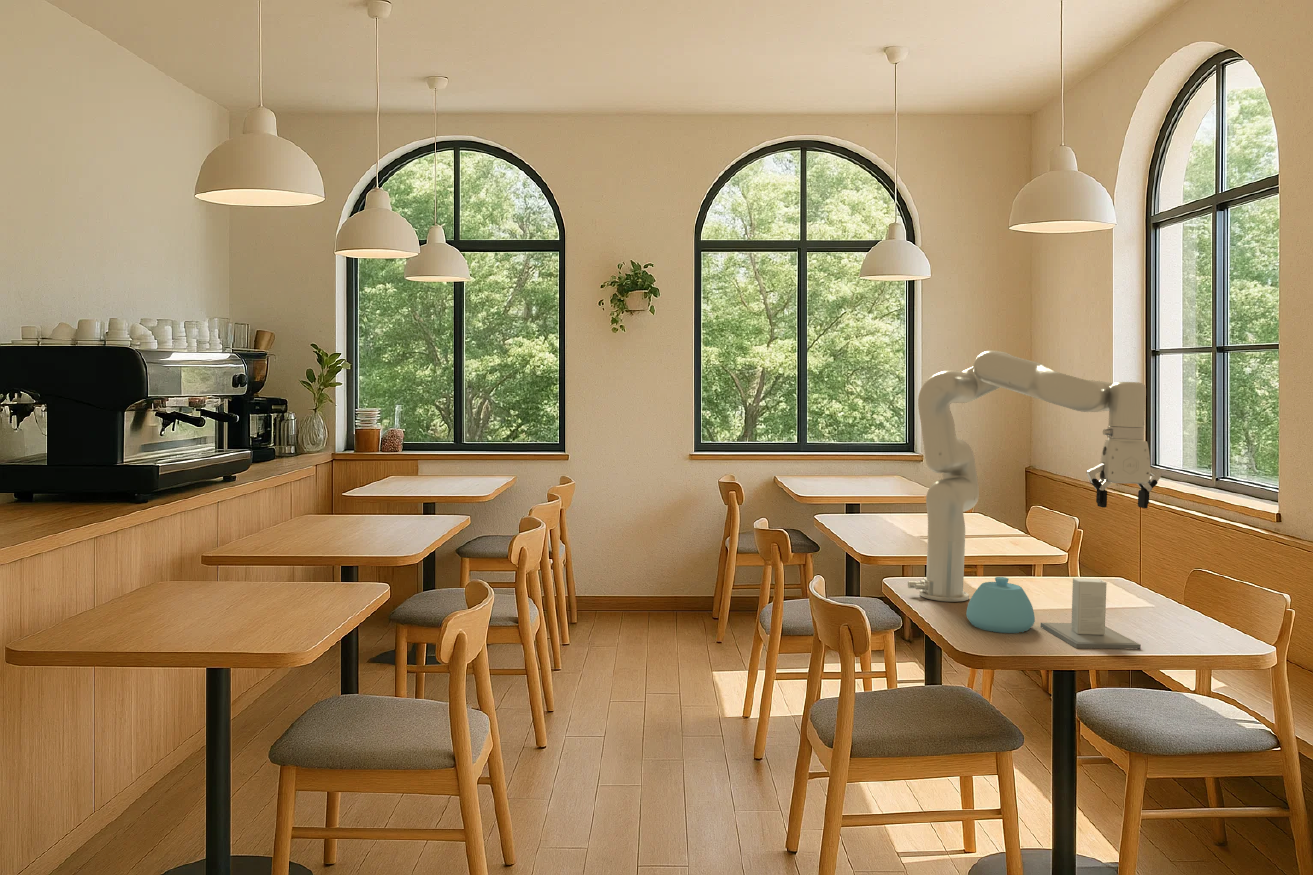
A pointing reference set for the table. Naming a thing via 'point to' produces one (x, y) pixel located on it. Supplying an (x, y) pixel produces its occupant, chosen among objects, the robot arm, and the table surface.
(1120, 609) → the table surface
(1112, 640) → the slate board
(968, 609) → the sugar bowl
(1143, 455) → the robot arm
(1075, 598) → the skincare box
